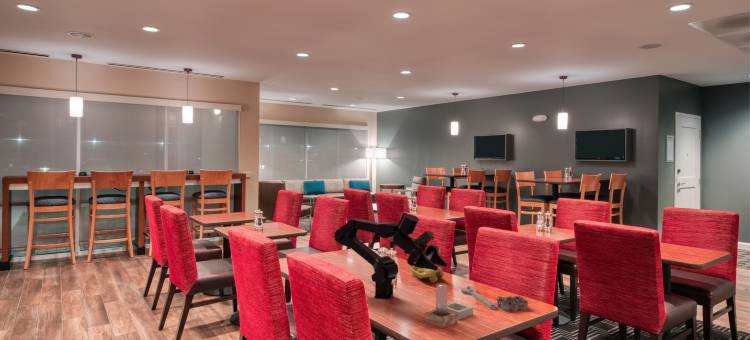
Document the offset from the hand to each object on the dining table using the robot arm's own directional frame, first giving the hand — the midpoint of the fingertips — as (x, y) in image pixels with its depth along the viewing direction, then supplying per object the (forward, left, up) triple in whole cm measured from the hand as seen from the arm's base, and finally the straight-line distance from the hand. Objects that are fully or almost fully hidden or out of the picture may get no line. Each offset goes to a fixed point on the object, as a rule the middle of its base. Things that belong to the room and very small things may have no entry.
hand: (442, 267), depth 164 cm
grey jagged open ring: (+26, +8, -16) cm, 31 cm away
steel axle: (0, -12, -15) cm, 20 cm away
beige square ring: (0, -12, -15) cm, 20 cm away
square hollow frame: (+5, -3, -15) cm, 16 cm away
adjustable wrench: (+14, +15, -16) cm, 26 cm away
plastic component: (-6, +41, -16) cm, 45 cm away
